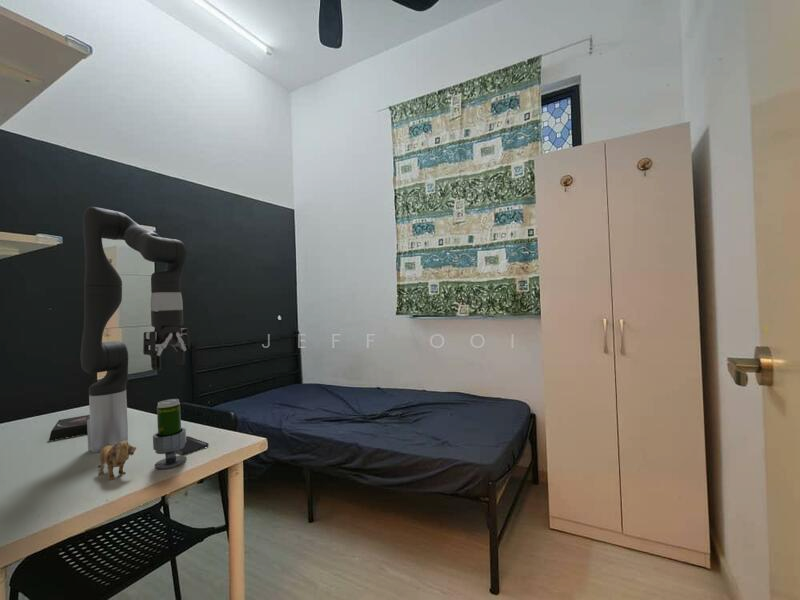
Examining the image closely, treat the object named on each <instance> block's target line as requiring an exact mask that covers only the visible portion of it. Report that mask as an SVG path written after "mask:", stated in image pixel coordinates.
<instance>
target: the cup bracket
mask: <svg viewBox="0 0 800 600" xmlns="http://www.w3.org/2000/svg"><path fill="white" fill-rule="evenodd" d="M186 436H187V429H186V428H184V427H181V432H180V433H178V434H174V435H170V436H164V437H158V432H155V433H154V434H153V436H152V444H153V445H152V447H153V450H154V451H155V454H157V455H164V456H165V457H164V458H162V459H161V460H158V461H157V462H156V463H155V464H154V469H155V470H157V471H159V470H160V471H162V470H163V471H164V470H169V469H174V468H177V467H180V466H181V465H183V463H184V464H185V463H186V462H187V461H186V460H187V455H177V453H176V451H178V450H181V449H182V448H184V447H185V443H186Z"/></svg>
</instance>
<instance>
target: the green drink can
mask: <svg viewBox="0 0 800 600" xmlns="http://www.w3.org/2000/svg"><path fill="white" fill-rule="evenodd" d="M181 414H182V413H181V403H180V399H178V398H171V399H165V400H161V401H159V402H157V406H156V417H157V433H158V437H164V436H170V435H174V434H178V433H180V432H181V428H182V419H181V418H182V416H181Z"/></svg>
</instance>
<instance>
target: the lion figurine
mask: <svg viewBox="0 0 800 600" xmlns="http://www.w3.org/2000/svg"><path fill="white" fill-rule="evenodd" d="M136 450H137V447H136V446H132V445H131V444H129V440H128V441H124V442H120V443H118V444H116V445H115V446H106V447H104V448H103V449H102V451H101V452H100V455H99V462H100V464H99V465H98V466H97V468H99V472H98V476H101V474H102V475H104V474H105V471H104V470H105V464H107V473H108V478H107V479H108V481H111V480H115V475H114V468H116V467H117V468H118V472H117V473H118V475H119V476H123V474H124V475H125V474H126V473H127V472H126V471H124V466H125V464H126V461H128V460H129V456H134V455H135V452H136Z"/></svg>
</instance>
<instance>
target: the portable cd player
mask: <svg viewBox="0 0 800 600" xmlns="http://www.w3.org/2000/svg"><path fill="white" fill-rule="evenodd" d="M88 419H90V414H85V415H81V416H73V417H68V418H62V419H59V420H58V421H57V422H56V424H55V425H54V426H53V427H52V429H51V431H50V436H49V437H48V438H49V441H51V440H54V441H56V440H55V439H59V440H61V439H60V438H64V439H67V438H66V437H69V438H73V437H72V436H75V437H78V436H77V435H80V436H84V435H83V434H85V435H88V432H87V420H88Z"/></svg>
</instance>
